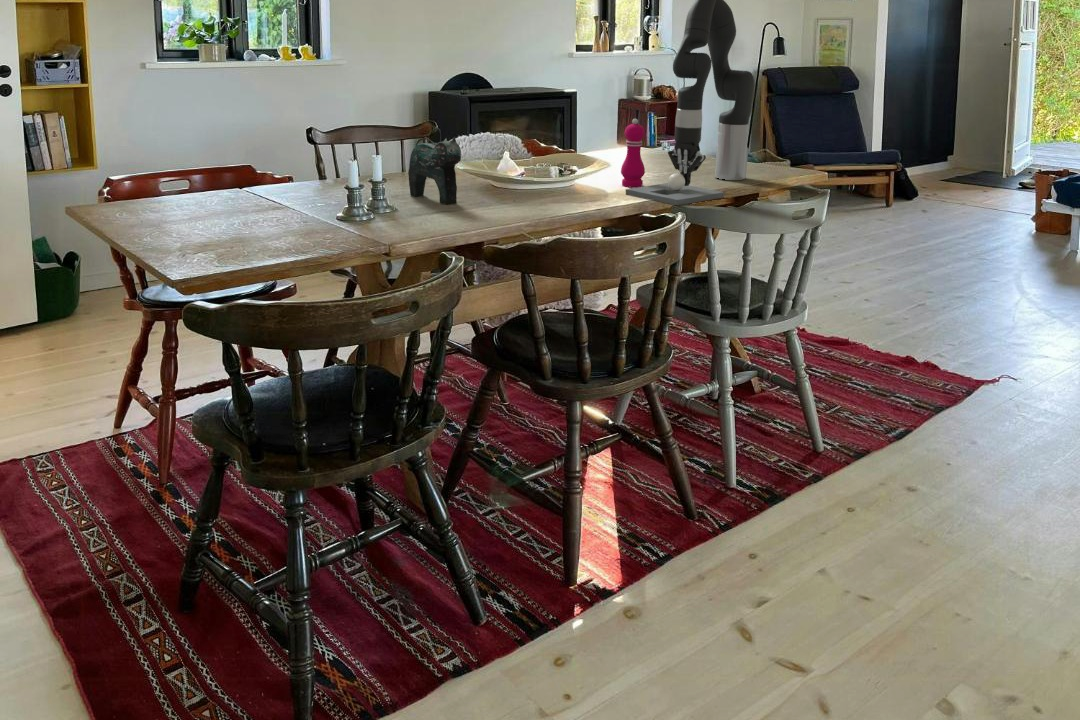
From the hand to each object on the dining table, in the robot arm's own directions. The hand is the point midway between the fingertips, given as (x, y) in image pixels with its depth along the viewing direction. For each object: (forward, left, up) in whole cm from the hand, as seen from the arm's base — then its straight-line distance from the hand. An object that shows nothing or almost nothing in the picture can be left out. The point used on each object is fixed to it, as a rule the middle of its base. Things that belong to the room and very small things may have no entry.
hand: (684, 185), depth 309 cm
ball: (+4, 0, +1) cm, 4 cm away
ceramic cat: (+64, -36, -3) cm, 74 cm away
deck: (+4, 0, -3) cm, 5 cm away
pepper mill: (+2, -19, -3) cm, 19 cm away
